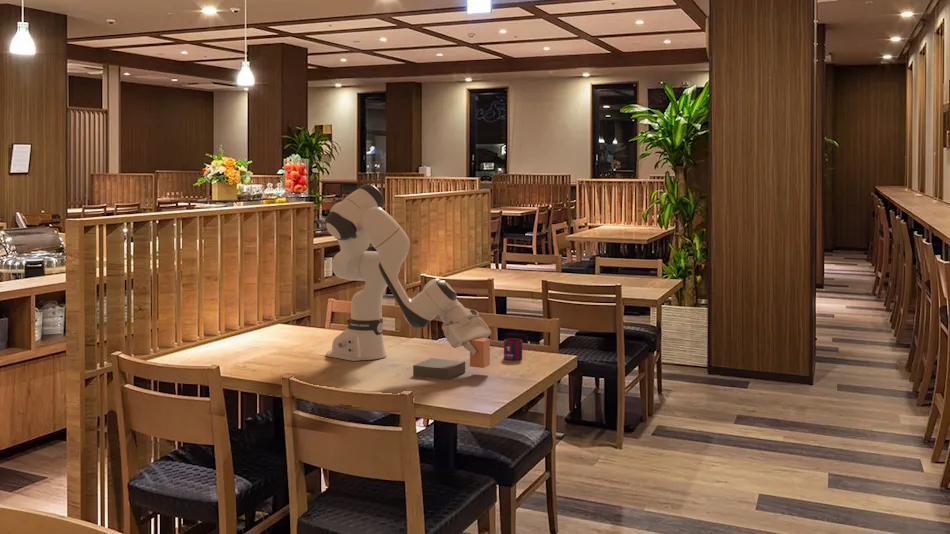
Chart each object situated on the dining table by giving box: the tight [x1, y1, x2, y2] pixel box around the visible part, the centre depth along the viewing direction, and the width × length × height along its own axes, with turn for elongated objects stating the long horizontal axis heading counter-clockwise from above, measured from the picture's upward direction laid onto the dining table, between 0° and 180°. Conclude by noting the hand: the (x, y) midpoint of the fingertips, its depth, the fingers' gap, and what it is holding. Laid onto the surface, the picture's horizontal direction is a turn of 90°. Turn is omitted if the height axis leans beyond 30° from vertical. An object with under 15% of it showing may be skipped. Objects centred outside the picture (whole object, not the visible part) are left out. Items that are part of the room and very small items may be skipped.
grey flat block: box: [412, 357, 466, 381], centre depth 292 cm, size 13×13×4 cm
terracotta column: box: [469, 337, 491, 369], centre depth 291 cm, size 5×5×9 cm
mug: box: [503, 338, 523, 362], centre depth 318 cm, size 7×10×7 cm
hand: (481, 351), depth 291 cm, fingers closed on terracotta column, 5 cm apart
